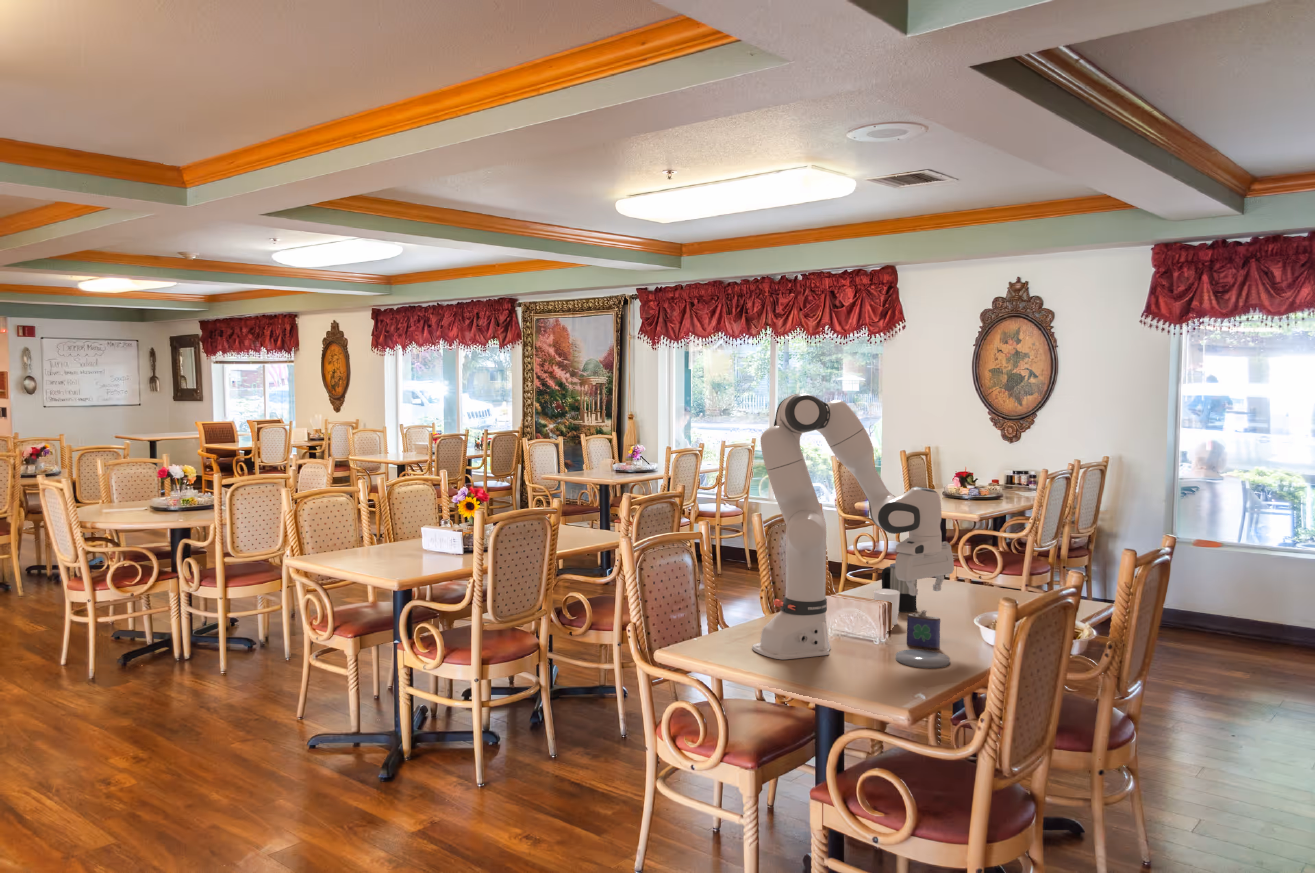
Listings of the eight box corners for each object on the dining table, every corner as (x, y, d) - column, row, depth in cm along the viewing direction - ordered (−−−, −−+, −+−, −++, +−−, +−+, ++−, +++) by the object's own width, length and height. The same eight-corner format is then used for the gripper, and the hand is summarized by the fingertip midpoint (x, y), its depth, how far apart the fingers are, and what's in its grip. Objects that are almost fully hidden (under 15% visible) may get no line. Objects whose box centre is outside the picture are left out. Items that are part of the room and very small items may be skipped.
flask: (940, 648, 260) (941, 610, 259) (938, 650, 257) (938, 613, 257) (907, 643, 264) (908, 607, 264) (905, 646, 262) (905, 609, 261)
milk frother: (922, 609, 307) (923, 565, 306) (899, 617, 295) (900, 572, 294) (884, 602, 316) (884, 559, 315) (860, 610, 305) (861, 566, 304)
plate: (924, 671, 238) (924, 667, 238) (884, 657, 250) (884, 654, 250) (960, 663, 246) (961, 659, 246) (920, 650, 258) (920, 646, 258)
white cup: (899, 626, 283) (900, 594, 283) (873, 625, 285) (874, 593, 284) (898, 620, 291) (899, 589, 290) (873, 619, 293) (873, 588, 292)
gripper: (941, 539, 268) (942, 586, 268) (891, 546, 257) (891, 595, 257) (959, 542, 262) (959, 590, 263) (908, 549, 251) (908, 599, 252)
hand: (925, 592), depth 260 cm, fingers open, 8 cm apart
